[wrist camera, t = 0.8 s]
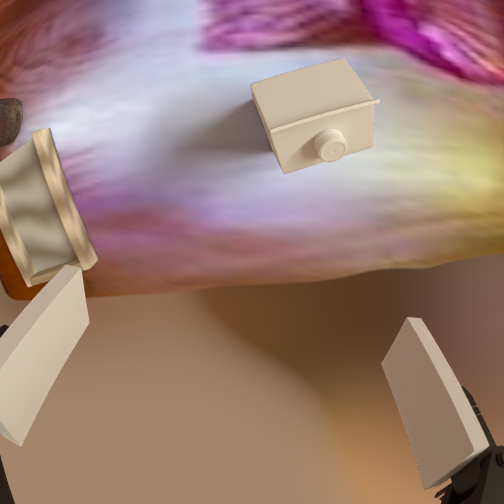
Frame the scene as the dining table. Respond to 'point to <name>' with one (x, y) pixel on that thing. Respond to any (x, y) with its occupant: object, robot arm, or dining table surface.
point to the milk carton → (315, 114)
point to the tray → (41, 212)
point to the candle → (9, 119)
